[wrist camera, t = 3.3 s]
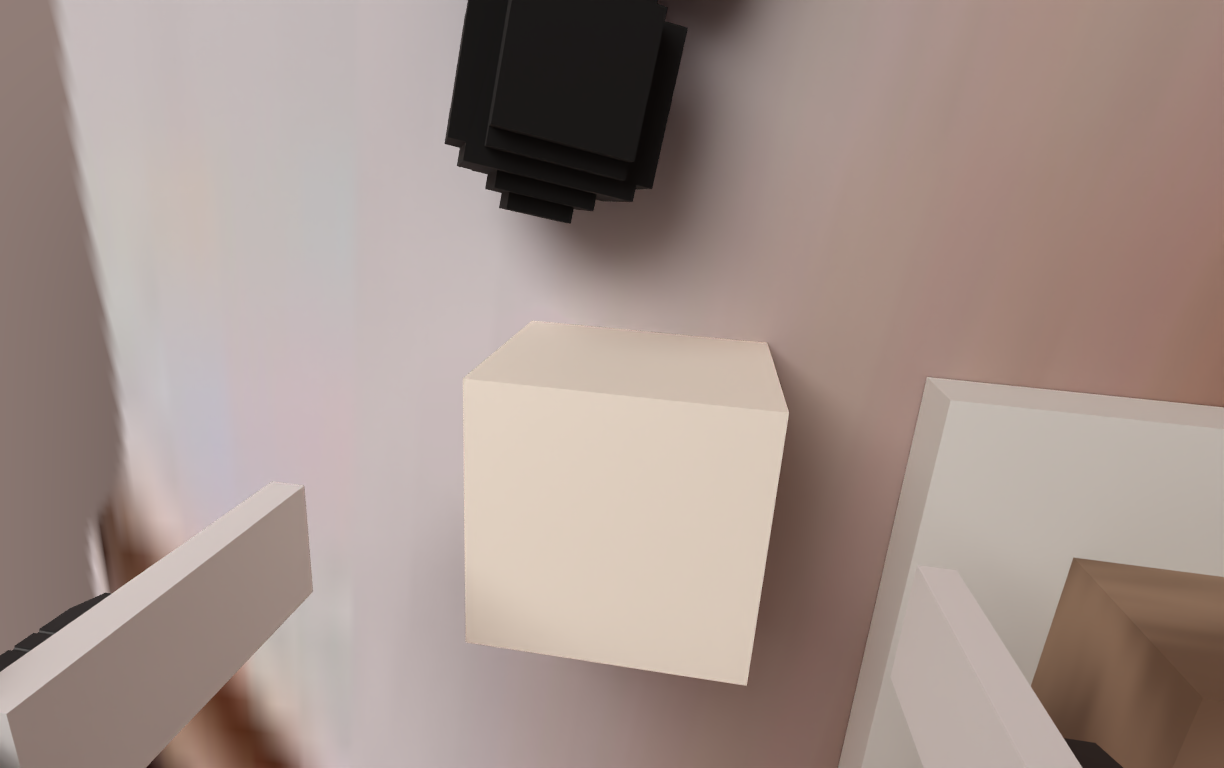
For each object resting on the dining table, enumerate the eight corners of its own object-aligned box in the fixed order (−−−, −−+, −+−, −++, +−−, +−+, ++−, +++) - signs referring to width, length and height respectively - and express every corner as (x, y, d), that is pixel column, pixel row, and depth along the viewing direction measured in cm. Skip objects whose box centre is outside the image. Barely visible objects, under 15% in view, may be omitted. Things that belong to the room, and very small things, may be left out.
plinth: (926, 376, 19) (950, 400, 17) (1769, 463, 16) (1906, 501, 15) (812, 878, 25) (820, 935, 23) (1408, 992, 23) (1471, 1066, 21)
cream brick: (533, 319, 20) (462, 378, 15) (766, 341, 19) (789, 413, 14) (528, 522, 22) (465, 642, 17) (738, 550, 22) (746, 685, 16)
